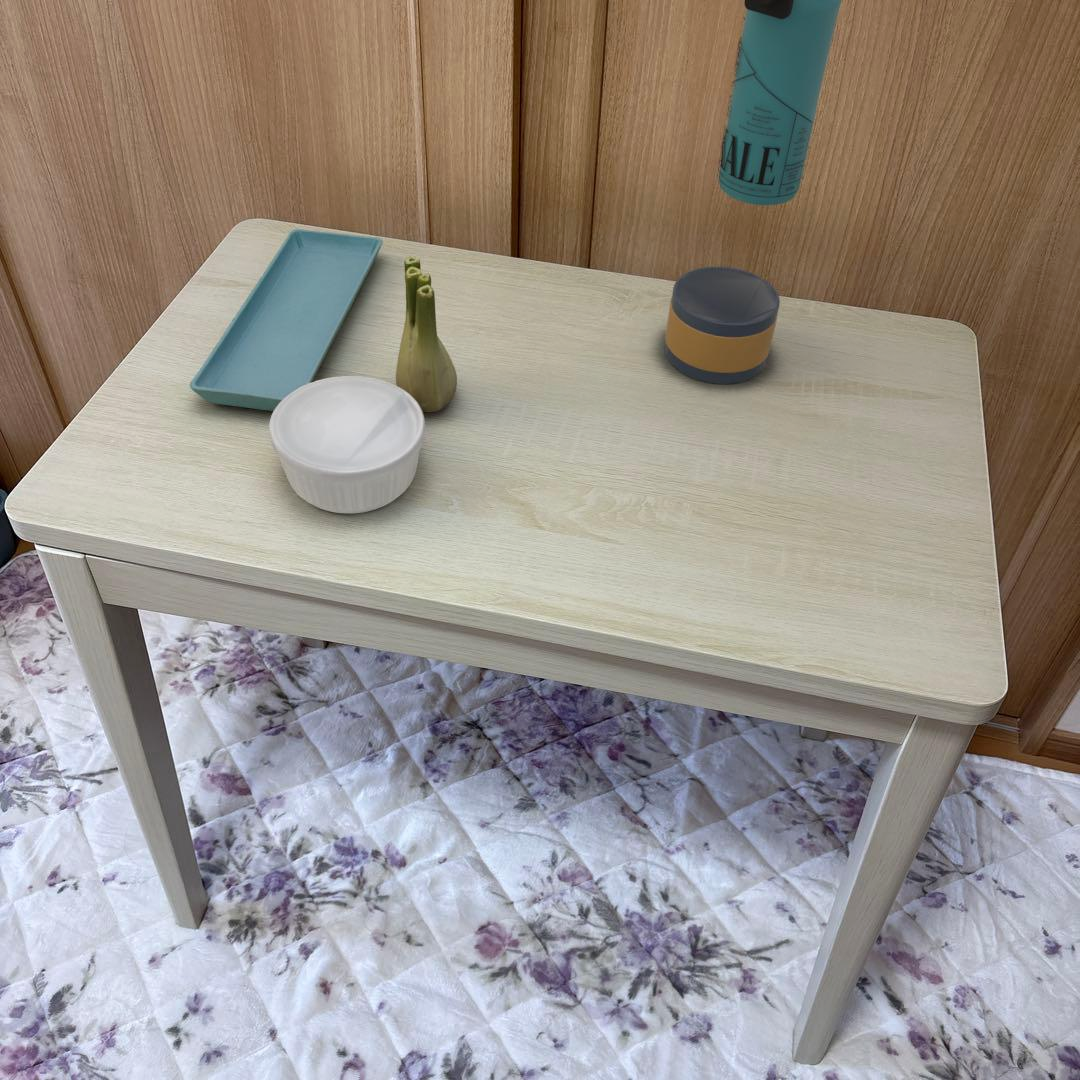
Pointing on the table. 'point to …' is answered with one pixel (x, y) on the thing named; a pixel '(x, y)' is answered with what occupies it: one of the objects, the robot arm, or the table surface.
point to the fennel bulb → (423, 345)
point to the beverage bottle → (775, 101)
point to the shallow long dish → (287, 320)
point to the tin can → (721, 324)
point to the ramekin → (348, 442)
